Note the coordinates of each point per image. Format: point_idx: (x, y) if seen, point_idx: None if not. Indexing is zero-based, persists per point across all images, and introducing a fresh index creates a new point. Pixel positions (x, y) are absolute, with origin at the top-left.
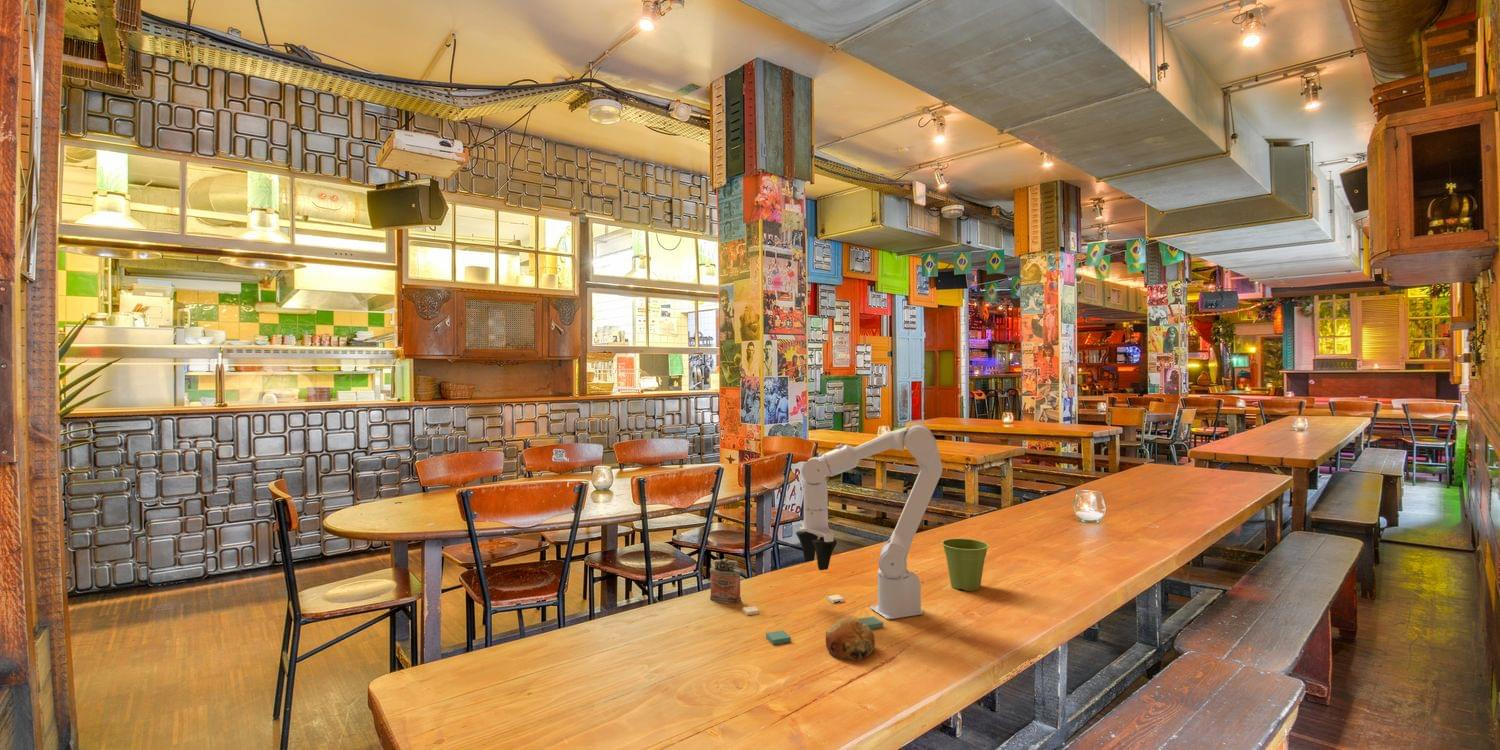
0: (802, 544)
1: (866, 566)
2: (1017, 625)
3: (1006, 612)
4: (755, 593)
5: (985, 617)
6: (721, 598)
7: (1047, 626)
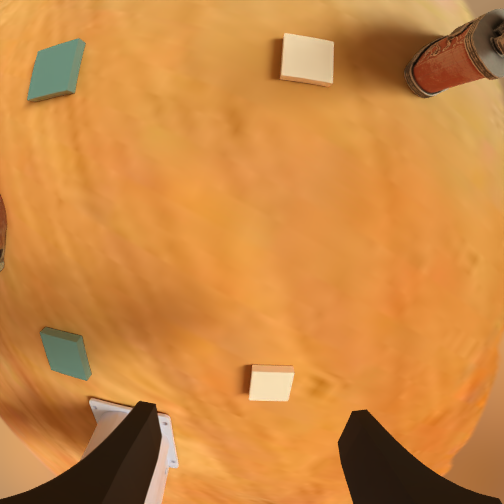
0: (409, 485)
1: None
2: None
3: None
4: (456, 180)
5: None
6: (433, 43)
7: None
